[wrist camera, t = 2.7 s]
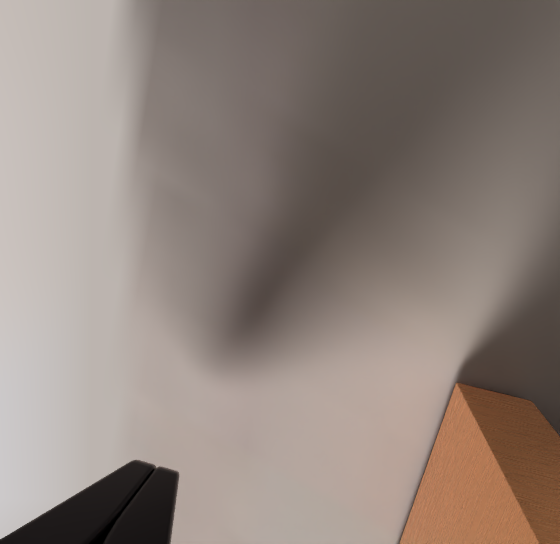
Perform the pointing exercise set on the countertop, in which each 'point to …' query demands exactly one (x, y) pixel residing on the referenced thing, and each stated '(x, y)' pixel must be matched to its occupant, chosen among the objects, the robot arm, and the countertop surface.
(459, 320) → the countertop surface
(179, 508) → the countertop surface
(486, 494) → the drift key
